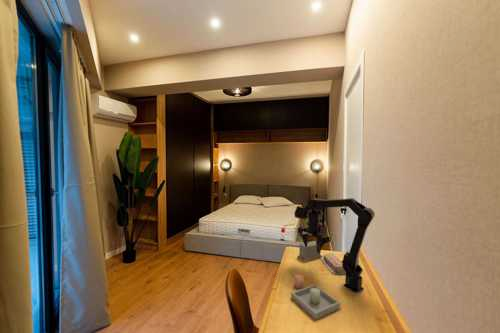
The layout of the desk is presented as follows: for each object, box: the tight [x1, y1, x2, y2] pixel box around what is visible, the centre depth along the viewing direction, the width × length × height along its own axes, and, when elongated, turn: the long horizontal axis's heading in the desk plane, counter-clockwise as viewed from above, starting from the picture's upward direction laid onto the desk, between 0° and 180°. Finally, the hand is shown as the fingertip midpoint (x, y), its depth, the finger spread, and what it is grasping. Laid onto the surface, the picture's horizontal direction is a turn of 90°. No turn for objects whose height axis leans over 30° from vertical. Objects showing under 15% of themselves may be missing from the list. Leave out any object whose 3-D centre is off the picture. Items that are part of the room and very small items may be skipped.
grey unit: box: [296, 240, 323, 263], centre depth 131 cm, size 6×15×9 cm, turn 119°
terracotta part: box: [294, 273, 305, 290], centre depth 101 cm, size 4×4×5 cm
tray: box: [290, 284, 341, 321], centre depth 89 cm, size 14×14×3 cm
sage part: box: [310, 288, 320, 305], centre depth 89 cm, size 4×4×5 cm
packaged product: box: [319, 253, 346, 276], centre depth 122 cm, size 18×5×10 cm
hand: (312, 249), depth 115 cm, fingers open, 9 cm apart
